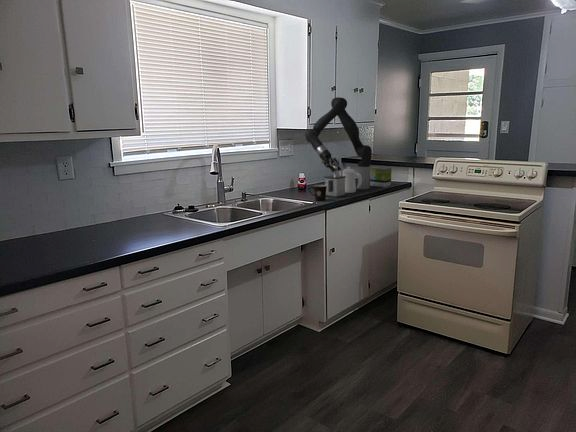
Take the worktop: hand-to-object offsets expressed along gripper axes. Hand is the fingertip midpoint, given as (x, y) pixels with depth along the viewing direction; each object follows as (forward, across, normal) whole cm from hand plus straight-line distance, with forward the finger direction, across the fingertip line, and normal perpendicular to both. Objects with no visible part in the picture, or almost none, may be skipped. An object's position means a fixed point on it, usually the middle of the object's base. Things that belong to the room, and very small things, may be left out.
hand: (337, 170), depth 304 cm
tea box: (+13, +61, +14) cm, 64 cm away
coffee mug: (+12, -19, +14) cm, 27 cm away
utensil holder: (+12, 0, +14) cm, 18 cm away
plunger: (+10, 0, +13) cm, 16 cm away
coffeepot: (+10, +21, +16) cm, 28 cm away
